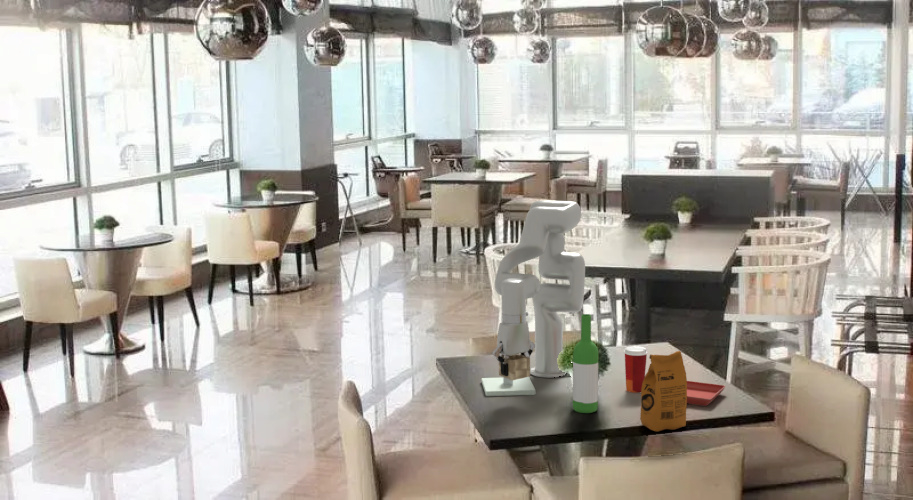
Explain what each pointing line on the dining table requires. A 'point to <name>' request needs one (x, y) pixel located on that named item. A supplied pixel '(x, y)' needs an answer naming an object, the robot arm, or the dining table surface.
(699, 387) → the plant saucer
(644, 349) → the paper cup
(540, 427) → the dining table surface
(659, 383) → the coffee package
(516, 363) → the maple collar
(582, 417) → the dining table surface
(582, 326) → the wine bottle
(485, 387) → the post board
